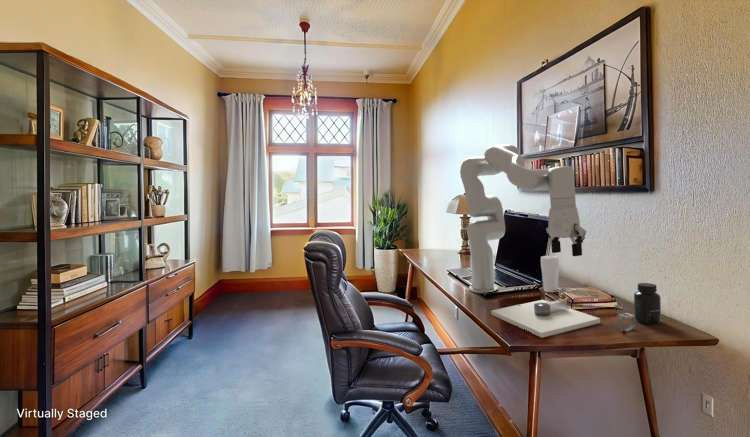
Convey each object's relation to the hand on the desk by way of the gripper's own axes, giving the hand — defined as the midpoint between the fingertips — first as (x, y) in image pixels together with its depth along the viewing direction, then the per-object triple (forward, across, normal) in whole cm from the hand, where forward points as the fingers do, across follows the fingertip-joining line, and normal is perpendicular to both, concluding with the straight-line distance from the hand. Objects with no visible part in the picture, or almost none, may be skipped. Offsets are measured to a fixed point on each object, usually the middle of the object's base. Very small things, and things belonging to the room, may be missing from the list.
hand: (566, 254), depth 121 cm
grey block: (+20, -4, -4) cm, 21 cm away
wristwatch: (+23, +14, +7) cm, 28 cm away
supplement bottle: (+23, +11, +19) cm, 32 cm away
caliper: (+22, -9, +15) cm, 29 cm away
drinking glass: (+21, -29, +15) cm, 39 cm away
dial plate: (+22, -4, -8) cm, 24 cm away
